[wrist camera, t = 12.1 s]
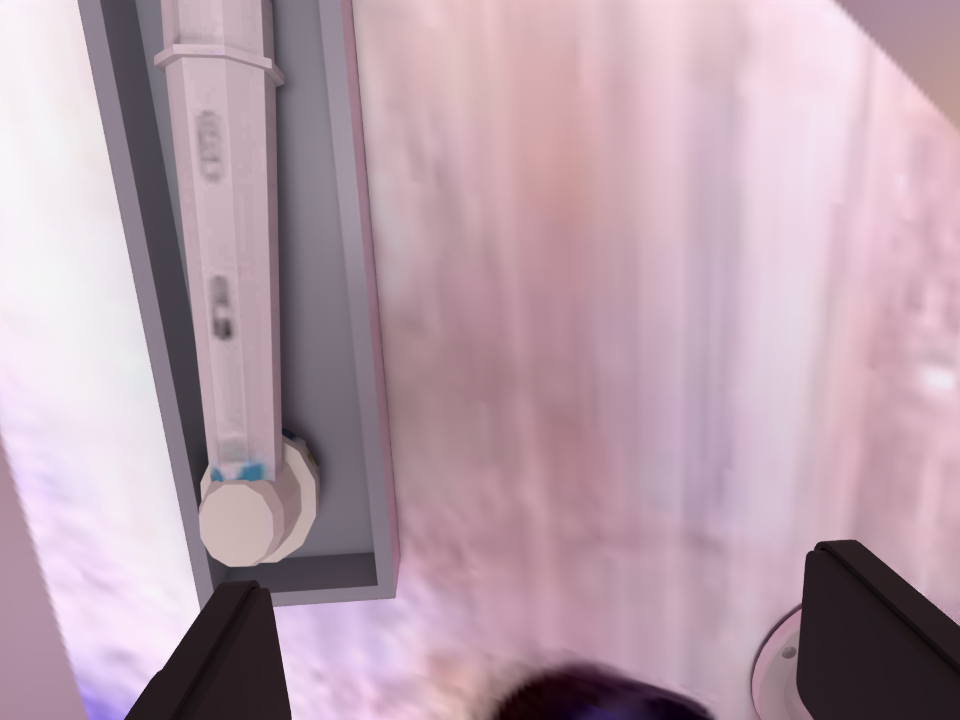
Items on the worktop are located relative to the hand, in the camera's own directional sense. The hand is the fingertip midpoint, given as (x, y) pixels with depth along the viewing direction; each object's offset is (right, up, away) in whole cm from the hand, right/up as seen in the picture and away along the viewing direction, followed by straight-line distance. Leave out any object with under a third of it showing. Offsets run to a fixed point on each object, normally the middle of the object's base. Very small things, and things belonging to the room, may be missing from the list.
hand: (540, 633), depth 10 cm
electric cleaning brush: (-11, +8, +18) cm, 23 cm away
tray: (-11, +8, +18) cm, 23 cm away
